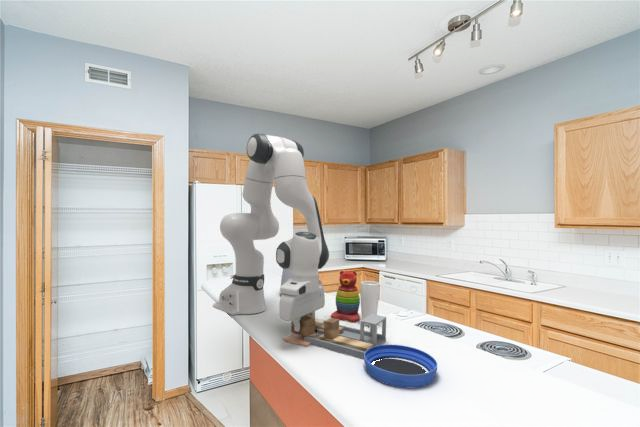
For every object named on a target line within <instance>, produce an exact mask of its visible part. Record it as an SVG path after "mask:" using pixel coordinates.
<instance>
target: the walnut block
mask: <svg viewBox="0 0 640 427" xmlns="http://www.w3.org/2000/svg"><path fill="white" fill-rule="evenodd" d="M315 321H316V317H315V318H312V317H308V316H302V317H300V321H299V322H300V325H302V330H300V331H298V332H297V331H295V330H294V324H293V321H290V323H291V325H290V326H291V328H290V332H291V334H293V333H295V334H299V335H302V336H306V337H308V336H309V335H311V334H316V329H315Z"/></svg>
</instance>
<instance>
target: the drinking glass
mask: <svg viewBox="0 0 640 427" xmlns="http://www.w3.org/2000/svg"><path fill="white" fill-rule="evenodd" d="M359 289H360V290H359V291H360V292H359V296H360V310H361V314H360V315H361V320H363V319H364V318H366V317H368V316H369V315H371V314H374V315H378V307H379V300H380V299H379V298H380V283H379V282H377V281H374V280H364V281H361V282H360V288H359ZM364 326H367V327H370V325H368V324H365V325H364Z"/></svg>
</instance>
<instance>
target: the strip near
mask: <svg viewBox="0 0 640 427" xmlns="http://www.w3.org/2000/svg"><path fill="white" fill-rule="evenodd" d="M323 323H324V334H323V335H321V336H319V340H323V341H327V342H330V343H334V344H338V345H342V346H346V347H349V348H353V349H357V350H361V351H365V352H366V351H367V350H368V349H369V348H371V347H374V344H370V343H366V342H362V341H358V340H354V339H350V338H346V337H342V336H339V325H340V320H339V319H335V318H331V317H329V318H328V319H325V320H324V321H323Z"/></svg>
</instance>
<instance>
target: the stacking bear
mask: <svg viewBox="0 0 640 427" xmlns="http://www.w3.org/2000/svg"><path fill="white" fill-rule="evenodd" d="M338 279H339V280H338V281H339V284H340V285H339V286H338V288H337V290H336V295H335V307H336V311H333V312H332V313H331V315H330V318H335V319H339V321H345V320H346V322H349V323H353V322H354V323H358V322H359V321H361V319H360V318H361V316H360V314H359V309H360V306H361V296H360V292H359V290H358V287H357V286H356V284H357V279H358V278H357V272H356V271H351V270H346V271H345V270H341V271H340V272H339V278H338Z"/></svg>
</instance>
